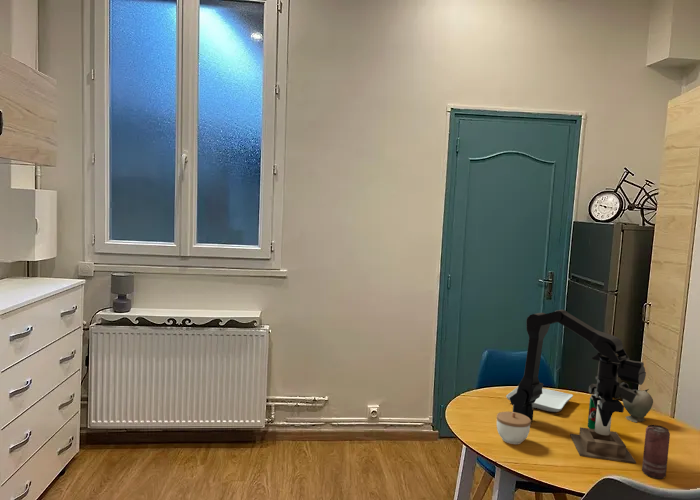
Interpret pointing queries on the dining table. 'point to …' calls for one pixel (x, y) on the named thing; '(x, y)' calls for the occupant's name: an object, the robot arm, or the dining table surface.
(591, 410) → the soda can
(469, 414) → the dining table surface
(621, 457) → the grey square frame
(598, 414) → the cream peg
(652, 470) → the can
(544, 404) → the salad plate
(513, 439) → the lidded jar
